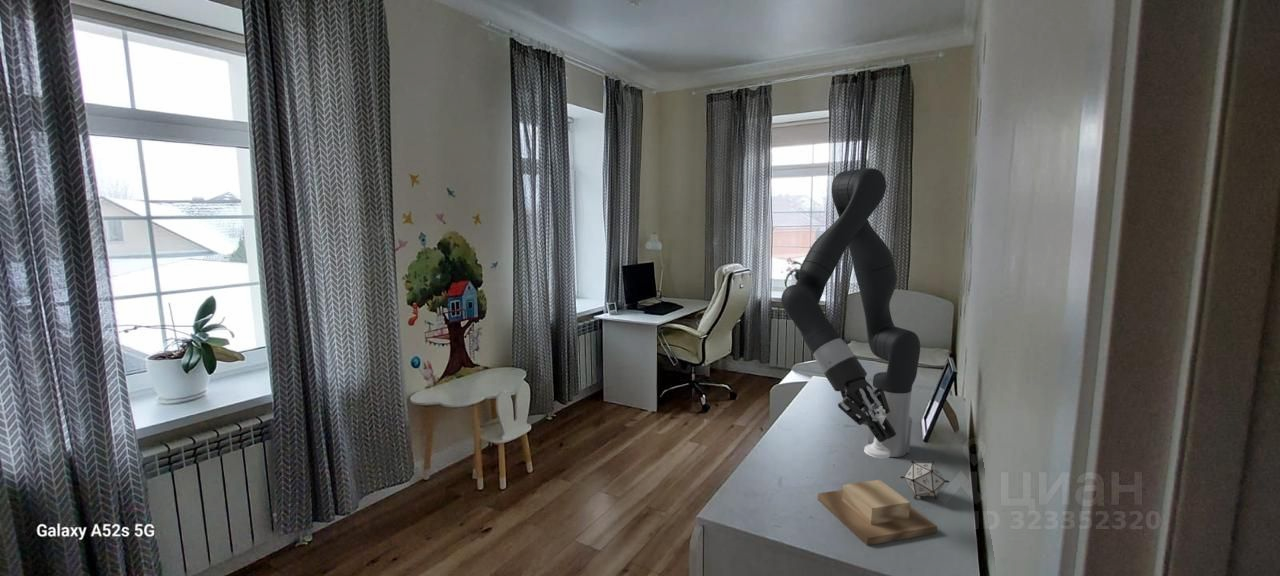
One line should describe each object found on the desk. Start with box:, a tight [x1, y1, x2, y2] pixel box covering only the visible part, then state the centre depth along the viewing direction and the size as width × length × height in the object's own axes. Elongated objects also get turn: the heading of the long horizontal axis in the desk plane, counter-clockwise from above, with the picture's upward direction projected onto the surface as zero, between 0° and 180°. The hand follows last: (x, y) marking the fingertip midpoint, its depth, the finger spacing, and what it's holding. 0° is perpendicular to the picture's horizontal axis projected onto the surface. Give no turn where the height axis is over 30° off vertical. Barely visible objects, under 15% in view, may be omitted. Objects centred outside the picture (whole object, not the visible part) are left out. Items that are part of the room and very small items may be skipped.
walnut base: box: [817, 479, 938, 546], centre depth 107 cm, size 16×16×5 cm
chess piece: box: [863, 406, 890, 459], centre depth 105 cm, size 5×5×10 cm
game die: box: [899, 459, 950, 500], centre depth 115 cm, size 9×8×10 cm
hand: (888, 438), depth 104 cm, fingers closed on chess piece
